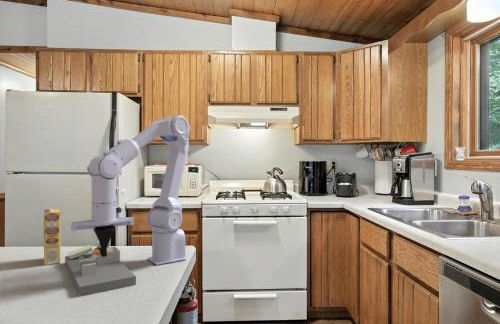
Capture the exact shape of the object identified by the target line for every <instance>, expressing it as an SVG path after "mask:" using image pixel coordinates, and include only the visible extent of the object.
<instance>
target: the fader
mask: <svg viewBox="0 0 500 324" xmlns="http://www.w3.org/2000/svg"><path fill="white" fill-rule="evenodd" d="M96 247H100V248H101V246H100V243H99V240H96ZM108 247H110V242H109V243H108V246H107V248H108Z"/></svg>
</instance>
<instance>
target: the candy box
mask: <svg viewBox="0 0 500 324" xmlns="http://www.w3.org/2000/svg"><path fill="white" fill-rule="evenodd" d="M43 212H44V214H43V255H44V256H43V260H44V261H43V262H44V263H43V264H44V266H49V265H54V264H61V210H60V208H47V209H44V210H43Z"/></svg>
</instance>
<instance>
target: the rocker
mask: <svg viewBox="0 0 500 324" xmlns="http://www.w3.org/2000/svg"><path fill="white" fill-rule="evenodd" d="M93 250H94V249H93V247H92V246H91V245H90V244H88V245H86V246H82V247H80V248H77V249H75V250H71V251H69V252H67V256H69V258H70V259H73V258H76V257H78V256H81V255H84V254H86V253H92V252H93Z"/></svg>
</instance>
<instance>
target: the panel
mask: <svg viewBox="0 0 500 324" xmlns="http://www.w3.org/2000/svg"><path fill="white" fill-rule="evenodd" d="M108 248H114V251H110V252H107V256H106V257H102V256H101V254H100V255H98V256H97V258H96V260H95V261H94V263H91V264H87V263H88V262H89V260H90V258H91V256H92V255H93V251H91V252H89V253H86V254H84V255H81V256H78V257H76V258H73V259H70V258H69V256H68V255H66V256H64V264H65V266H66V269H67V270H68V273H69V275H70V278H71V280H72V283H73V285H74V287H75V289H76V291H77V294H78V296H79V297H81V296H82V297H83V296H88V295H92V294H97V293H102V292H103V293H104V292H108V291H112V290H116V289H122V288H126V287H131V286H136V285H137V276H136V275H135V274H134V273H133V272H132V271H131V270H130V269H129V268H128V267H127V266H126V265H125V264H124V263H123V262H121V259H120V257H121V254H120V253H121V251H120V249H119V248H118V247H116V246H109V247H108Z"/></svg>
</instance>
